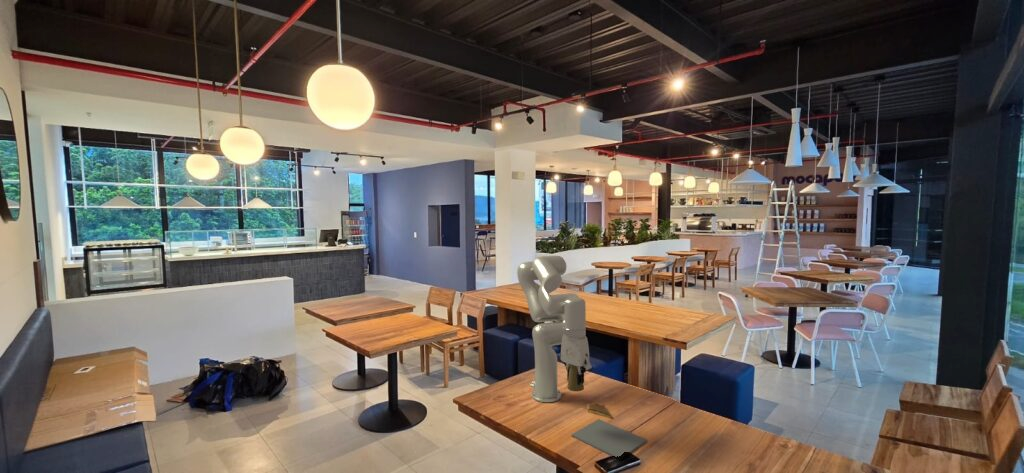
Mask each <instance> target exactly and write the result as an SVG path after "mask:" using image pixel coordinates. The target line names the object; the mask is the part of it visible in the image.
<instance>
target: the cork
mask: <svg viewBox="0 0 1024 473" xmlns="http://www.w3.org/2000/svg"><path fill="white" fill-rule="evenodd" d="M568 365H569V367H570V369H569V377H568V381H567V386H566V388H567V390H569V391H570V392H581V391H584V390H585V385H584V383H580V385H578V384H577V374H578V368H577V366H574V365H571V364H568Z"/></svg>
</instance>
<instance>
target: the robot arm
mask: <svg viewBox="0 0 1024 473" xmlns="http://www.w3.org/2000/svg"><path fill="white" fill-rule="evenodd" d="M566 271H567V262H566V260H565V258H564V257H562V256H561V255H548V256H547V255H545V256H538V257H536V258H535V259H534V260H533V261H525V262H521V263H520V264H519V265H518V267H517V272H516V273H517V279H518V280H517V281H518V283H519V286H520V287H521V289H522V291H523V293H524V295H525V298H526V303H527V306H528V310H529V315H530V317H531V319H532V321H534V322H536V323H537V324H536V325H535V326H533V328H532V332H531V334H532V335H531V336H532V340H533V345H534V346H533V347H534V348H533V350H534V373H535V374H534V377H535V378H534V380H532V382H531V383H530V384H529V387H530V388H533V391H532V392H531V398H532V399H533V400H535V401H537V402H541V403H553V402H554V403H556V402H557V401H559V400H560V399H561V398H562V392H561V391H560V390H558V356H557V355H558V354H557V352H556V351H555V350H554V349H553V346H559V345H560V357H559V358H560V361H561V362H562V363H563V365H564V366H565V370H566V375H567V376H566V377H567V379H566V381H567V382H568V377H569V369H570V367H569V365H568V364H571V365H574V366H577V368H578V374H577V384H578V385H580V383H583V384H585V373H586V372H587V371H589V370H591V369H592V365H591V362H590V348H589V347H590V346H589V341H588V337H587V336H586V335H587V334H586V333H587V332H586V329H587V327H586V326H587V324H586V323H587V322H586V320H587V319H586V315H587V314H586V308H587V307H586V301H585V299H584V298H582V297H579V295H578V294H576V293H561V294H559V293H558V294H551V293H552V292H555V291H556V290H557V289H559V288H560V286H561V285H562V281H563V278H562V276H564V274H565V273H566ZM536 281H539V283H540V285H539V283H537V282H536Z"/></svg>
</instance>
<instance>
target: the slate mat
mask: <svg viewBox="0 0 1024 473" xmlns="http://www.w3.org/2000/svg"><path fill="white" fill-rule="evenodd" d="M570 436H571V437H572V438H575V439H577V440H579V441H581V442H582V443H585V444H586V445H588V446H590V447H592V448H594V449H597V450H599V451H601V452H603V453H605V454H606V455H608V456H611V457H612V456H615V457H617V456H618V457H619V456H621V455H622V454H623V453H624V452H631V453H633V452H634V451H635V450H637V449H638V448H639V447H641V446H642V445H644V444H645V443H646V442H647V441H648V440H647V439H645V438H644V437H641V436H639V435H638V434H634V433H632V432H630V431H629V430H625V429H623V428H621V427H619V426H616V425H613V424H612V423H609V422H607V421H604V420H603V419H600V418H598V419H597V420H595V421H593V422H590V423H589V424H587V425H586V426H584V427H581V429H579V430H576V431H575V432H573V433H571V435H570Z"/></svg>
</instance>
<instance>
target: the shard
mask: <svg viewBox="0 0 1024 473" xmlns="http://www.w3.org/2000/svg"><path fill="white" fill-rule="evenodd" d="M586 406H587V407H588V408H587V412H588V413H591V414H596V415H597V416H600V417H604V418H608V419H612V417H613V416H612V414H611V413H610V412H609V409H607V407H606V406H605V405H604V404H603V403H595V402H594V403H587V404H586Z"/></svg>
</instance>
